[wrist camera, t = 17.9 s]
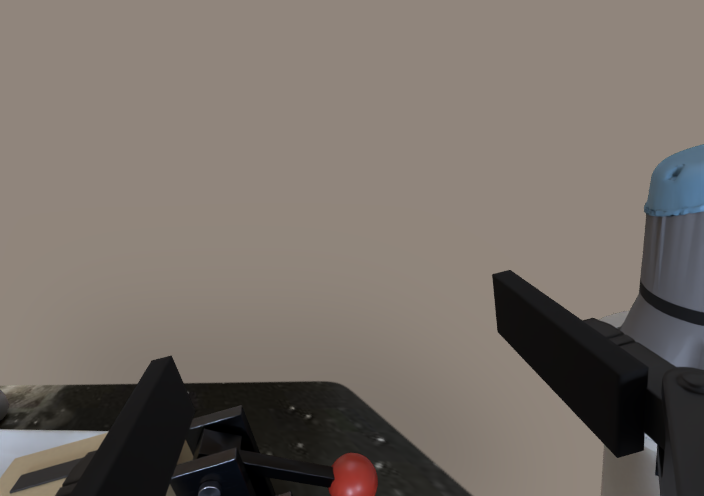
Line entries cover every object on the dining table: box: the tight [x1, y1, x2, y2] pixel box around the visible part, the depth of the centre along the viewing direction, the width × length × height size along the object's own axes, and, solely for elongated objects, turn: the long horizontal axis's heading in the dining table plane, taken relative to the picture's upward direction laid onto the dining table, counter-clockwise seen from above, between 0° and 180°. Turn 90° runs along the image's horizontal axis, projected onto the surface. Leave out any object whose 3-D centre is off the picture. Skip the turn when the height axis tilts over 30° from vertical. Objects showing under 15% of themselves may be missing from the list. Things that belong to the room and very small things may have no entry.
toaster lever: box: [193, 429, 378, 496], centre depth 30 cm, size 14×4×4 cm
